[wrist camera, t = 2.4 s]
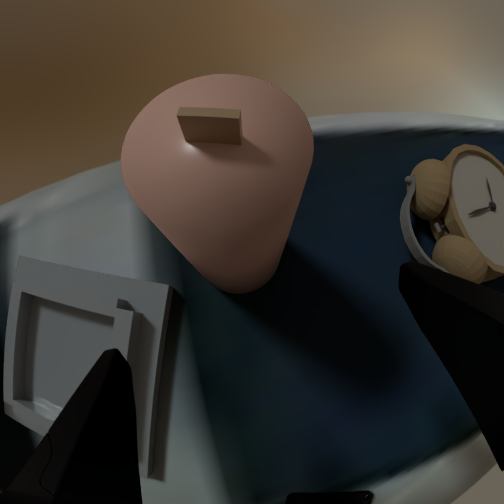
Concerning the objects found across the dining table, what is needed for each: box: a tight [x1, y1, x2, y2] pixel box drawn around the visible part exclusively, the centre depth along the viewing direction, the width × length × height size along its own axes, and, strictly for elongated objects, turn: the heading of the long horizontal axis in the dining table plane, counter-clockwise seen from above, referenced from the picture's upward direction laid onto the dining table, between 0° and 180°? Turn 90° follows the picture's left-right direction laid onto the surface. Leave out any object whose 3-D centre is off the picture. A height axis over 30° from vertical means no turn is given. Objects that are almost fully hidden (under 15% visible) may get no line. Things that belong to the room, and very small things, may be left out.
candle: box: [121, 74, 314, 294], centre depth 14 cm, size 6×6×14 cm
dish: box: [3, 256, 173, 478], centre depth 18 cm, size 14×14×3 cm
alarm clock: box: [400, 144, 504, 284], centre depth 20 cm, size 11×5×15 cm
